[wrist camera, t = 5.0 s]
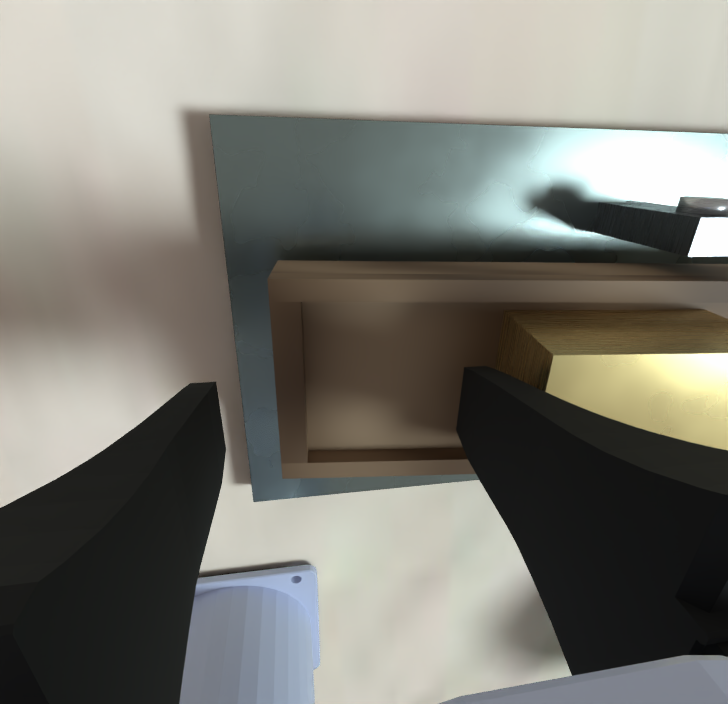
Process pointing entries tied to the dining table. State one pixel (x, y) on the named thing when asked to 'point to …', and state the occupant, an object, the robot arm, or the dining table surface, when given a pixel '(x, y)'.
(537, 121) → the dining table surface
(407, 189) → the stand
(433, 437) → the brown long flat tray
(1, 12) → the dining table surface
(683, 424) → the block
